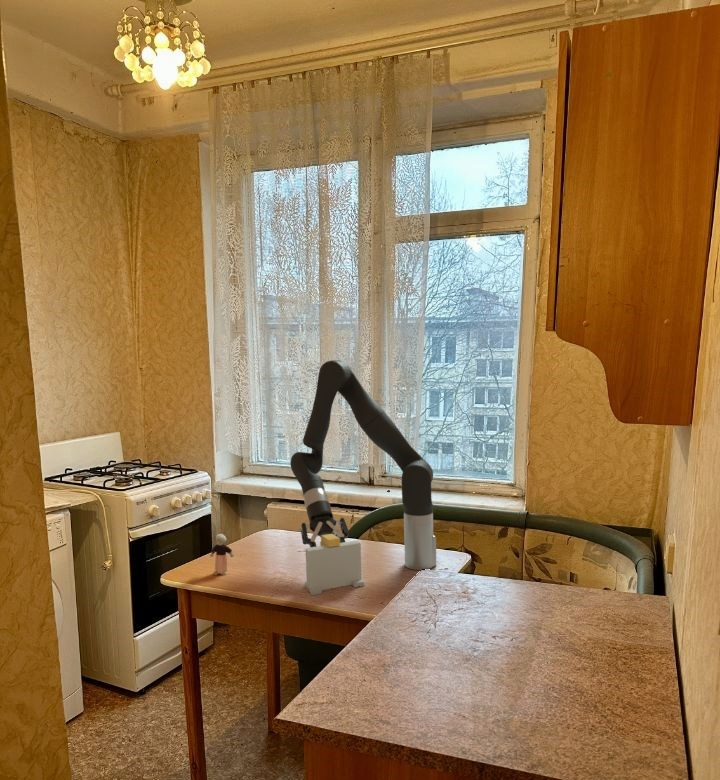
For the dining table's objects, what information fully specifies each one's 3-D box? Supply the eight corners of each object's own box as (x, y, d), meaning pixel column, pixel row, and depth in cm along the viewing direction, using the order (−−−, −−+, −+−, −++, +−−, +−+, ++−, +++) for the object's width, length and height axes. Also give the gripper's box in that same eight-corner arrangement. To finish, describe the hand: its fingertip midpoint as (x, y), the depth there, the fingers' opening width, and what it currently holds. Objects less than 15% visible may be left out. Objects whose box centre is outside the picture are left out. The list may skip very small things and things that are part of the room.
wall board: (355, 577, 170) (354, 538, 169) (364, 585, 164) (363, 545, 163) (304, 586, 164) (303, 546, 164) (311, 595, 158) (310, 553, 157)
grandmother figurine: (208, 576, 174) (206, 536, 173) (211, 571, 177) (209, 532, 177) (233, 575, 174) (231, 535, 173) (235, 571, 178) (234, 531, 177)
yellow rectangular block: (334, 573, 170) (332, 533, 170) (343, 580, 162) (340, 538, 163) (322, 575, 168) (319, 535, 169) (330, 582, 161) (327, 540, 161)
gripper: (297, 502, 171) (309, 550, 161) (341, 496, 176) (355, 543, 166) (293, 514, 176) (305, 562, 166) (336, 509, 182) (349, 555, 171)
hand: (330, 553), depth 166 cm, fingers open, 8 cm apart
